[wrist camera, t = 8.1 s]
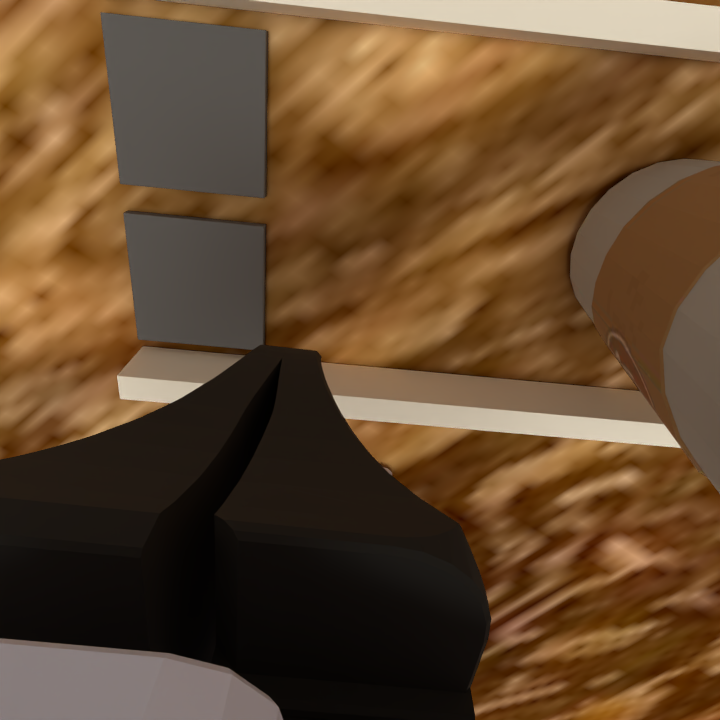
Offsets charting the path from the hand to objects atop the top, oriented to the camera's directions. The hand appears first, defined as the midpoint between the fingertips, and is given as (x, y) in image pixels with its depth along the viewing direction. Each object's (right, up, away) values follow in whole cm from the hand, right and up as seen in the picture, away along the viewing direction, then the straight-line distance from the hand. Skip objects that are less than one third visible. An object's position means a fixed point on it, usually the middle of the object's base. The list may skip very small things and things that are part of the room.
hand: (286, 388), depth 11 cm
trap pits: (-4, +6, +7) cm, 10 cm away
